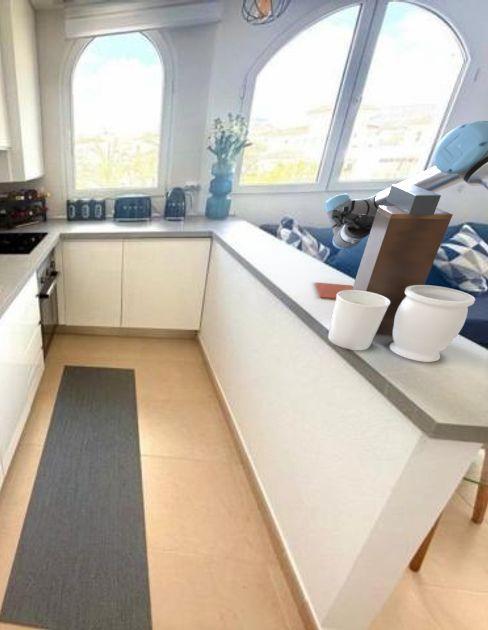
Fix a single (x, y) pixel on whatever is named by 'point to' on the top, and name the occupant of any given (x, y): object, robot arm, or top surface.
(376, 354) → the top surface
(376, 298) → the white flower pot
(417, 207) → the slim box
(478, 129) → the robot arm
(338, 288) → the mat
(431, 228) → the stand
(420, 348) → the jar
